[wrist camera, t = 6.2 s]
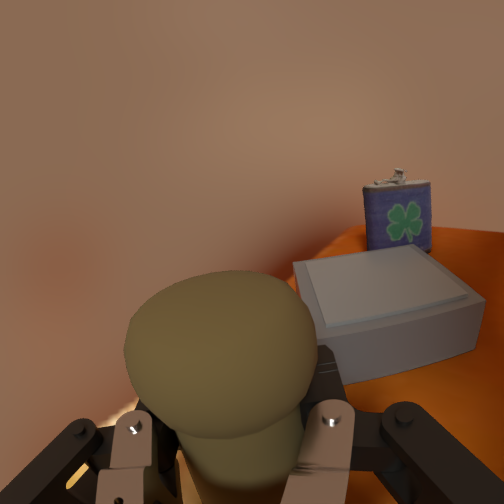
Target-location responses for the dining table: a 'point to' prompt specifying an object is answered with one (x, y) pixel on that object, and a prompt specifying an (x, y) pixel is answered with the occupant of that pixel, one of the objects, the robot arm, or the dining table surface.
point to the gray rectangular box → (388, 310)
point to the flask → (398, 213)
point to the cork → (227, 378)
